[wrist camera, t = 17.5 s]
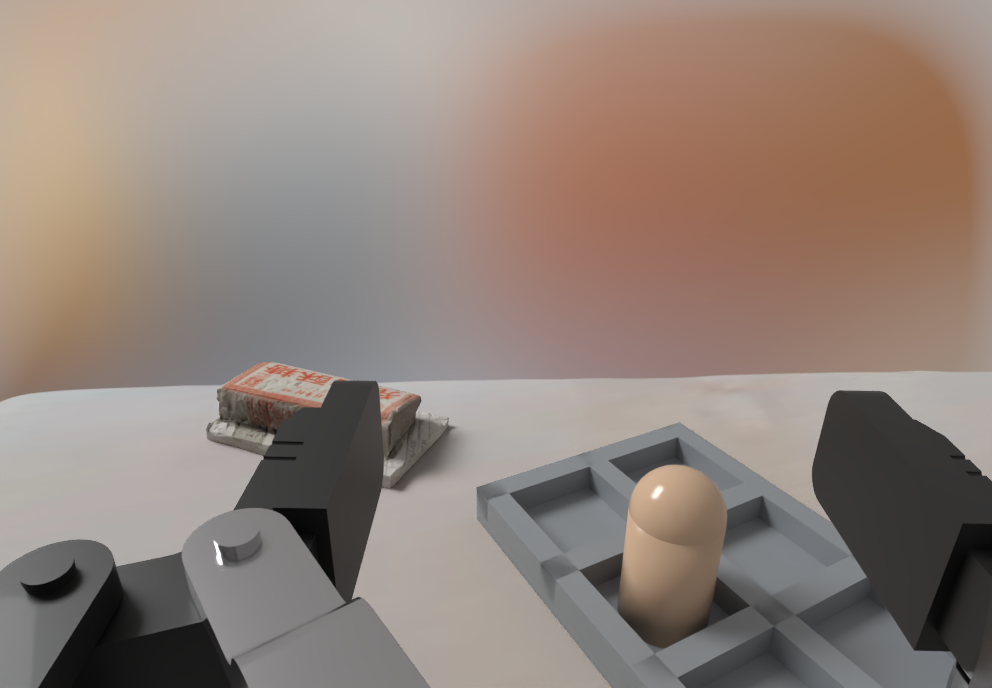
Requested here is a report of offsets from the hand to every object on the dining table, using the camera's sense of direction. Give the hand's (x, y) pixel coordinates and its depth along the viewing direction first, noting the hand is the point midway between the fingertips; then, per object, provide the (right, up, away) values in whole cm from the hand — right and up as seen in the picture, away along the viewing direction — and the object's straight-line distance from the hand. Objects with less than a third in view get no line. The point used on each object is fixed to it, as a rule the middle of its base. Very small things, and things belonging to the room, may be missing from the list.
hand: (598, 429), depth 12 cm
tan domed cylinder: (+8, -14, +27) cm, 31 cm away
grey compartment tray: (+11, -14, +29) cm, 34 cm away
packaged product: (-16, -7, +46) cm, 49 cm away
